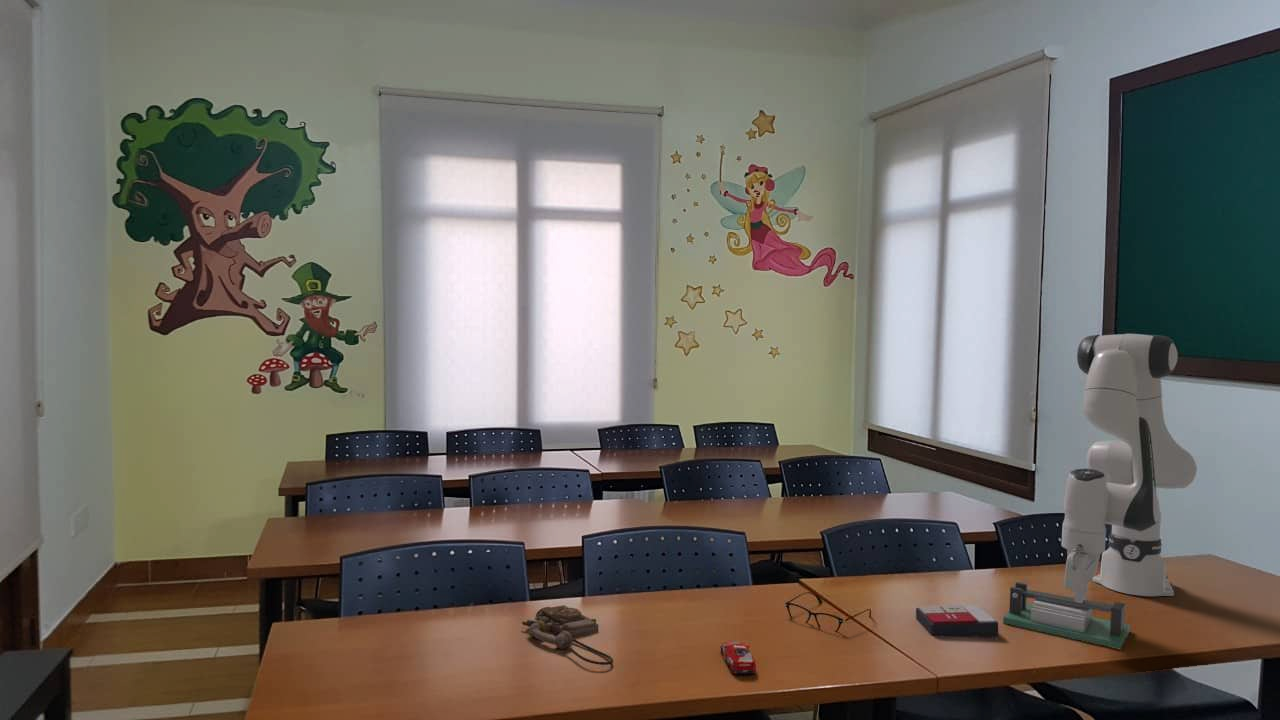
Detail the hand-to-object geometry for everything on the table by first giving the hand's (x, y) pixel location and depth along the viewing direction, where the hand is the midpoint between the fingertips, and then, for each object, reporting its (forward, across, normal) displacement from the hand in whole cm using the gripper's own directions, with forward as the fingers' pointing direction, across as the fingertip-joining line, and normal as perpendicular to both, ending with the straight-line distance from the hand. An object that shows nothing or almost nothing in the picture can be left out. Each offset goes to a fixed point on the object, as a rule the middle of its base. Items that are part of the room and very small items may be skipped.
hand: (1079, 601), depth 193 cm
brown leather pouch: (+9, -78, +85) cm, 116 cm away
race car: (+8, -66, +51) cm, 84 cm away
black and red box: (+8, -16, +22) cm, 29 cm away
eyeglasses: (+8, -29, +48) cm, 57 cm away
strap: (+1, +1, +4) cm, 4 cm away
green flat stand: (+7, +1, +3) cm, 7 cm away
